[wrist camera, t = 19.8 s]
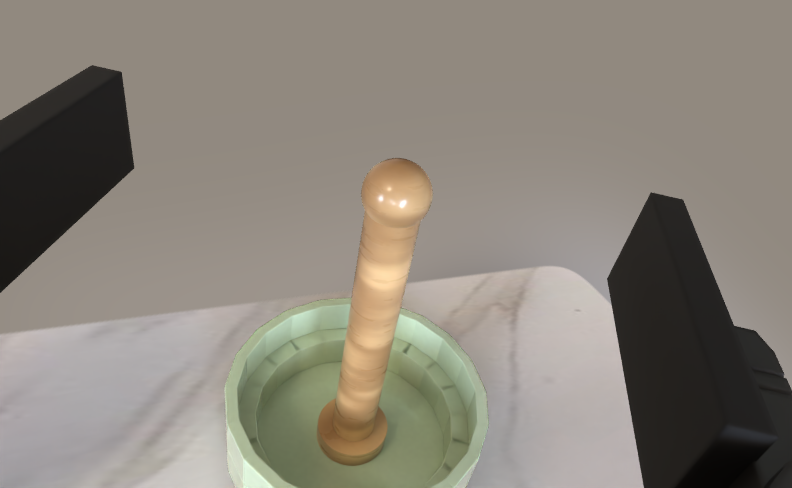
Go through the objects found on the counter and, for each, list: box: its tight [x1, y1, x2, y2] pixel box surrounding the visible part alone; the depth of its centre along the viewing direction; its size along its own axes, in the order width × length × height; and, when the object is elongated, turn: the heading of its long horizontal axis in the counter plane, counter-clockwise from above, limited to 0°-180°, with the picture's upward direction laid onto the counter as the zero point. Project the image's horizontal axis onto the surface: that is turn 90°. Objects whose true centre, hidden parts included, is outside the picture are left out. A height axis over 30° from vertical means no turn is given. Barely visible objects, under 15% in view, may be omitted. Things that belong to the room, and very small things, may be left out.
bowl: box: [225, 298, 489, 488], centre depth 37 cm, size 15×15×6 cm
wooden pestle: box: [317, 158, 433, 466], centre depth 32 cm, size 4×4×20 cm
